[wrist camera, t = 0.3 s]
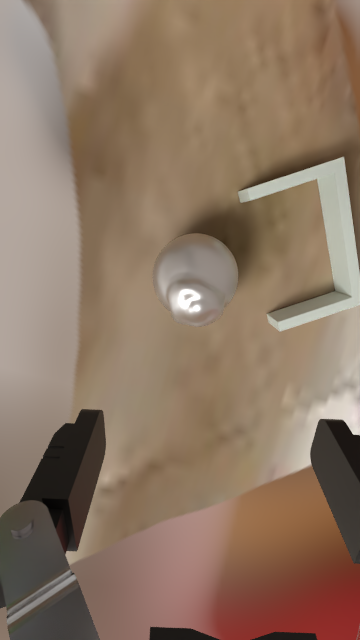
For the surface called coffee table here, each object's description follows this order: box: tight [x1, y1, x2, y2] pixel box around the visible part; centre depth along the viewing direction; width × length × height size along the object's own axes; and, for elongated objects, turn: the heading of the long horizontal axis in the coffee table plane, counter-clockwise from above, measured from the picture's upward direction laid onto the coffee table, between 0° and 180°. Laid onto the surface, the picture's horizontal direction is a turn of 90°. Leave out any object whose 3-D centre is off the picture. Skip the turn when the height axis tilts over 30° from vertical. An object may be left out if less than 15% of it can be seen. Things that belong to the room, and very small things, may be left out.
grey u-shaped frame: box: [238, 157, 360, 331], centre depth 36 cm, size 16×10×4 cm, turn 17°
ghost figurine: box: [153, 233, 238, 327], centre depth 33 cm, size 9×10×10 cm
